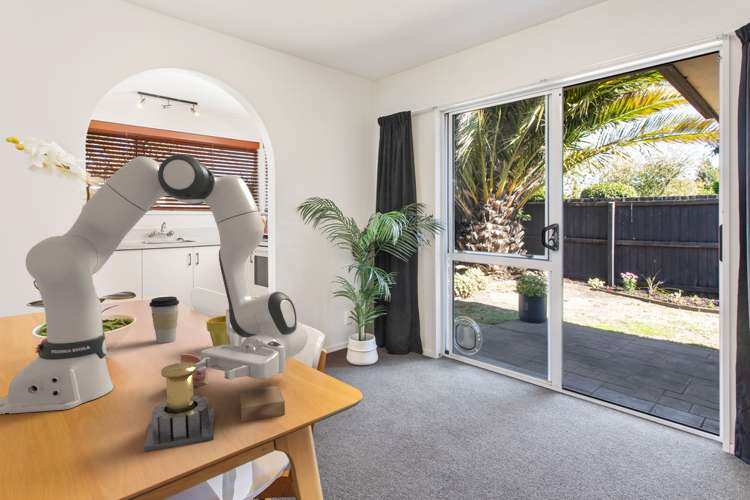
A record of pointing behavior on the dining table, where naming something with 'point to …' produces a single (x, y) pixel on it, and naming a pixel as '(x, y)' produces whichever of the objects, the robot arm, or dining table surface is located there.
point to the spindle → (179, 386)
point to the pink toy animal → (198, 377)
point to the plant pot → (218, 330)
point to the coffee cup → (165, 318)
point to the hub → (180, 426)
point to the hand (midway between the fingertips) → (211, 372)
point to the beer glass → (232, 333)
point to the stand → (261, 403)
